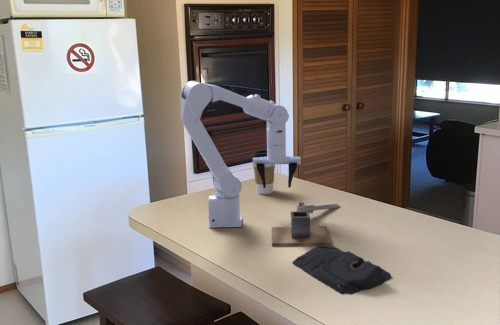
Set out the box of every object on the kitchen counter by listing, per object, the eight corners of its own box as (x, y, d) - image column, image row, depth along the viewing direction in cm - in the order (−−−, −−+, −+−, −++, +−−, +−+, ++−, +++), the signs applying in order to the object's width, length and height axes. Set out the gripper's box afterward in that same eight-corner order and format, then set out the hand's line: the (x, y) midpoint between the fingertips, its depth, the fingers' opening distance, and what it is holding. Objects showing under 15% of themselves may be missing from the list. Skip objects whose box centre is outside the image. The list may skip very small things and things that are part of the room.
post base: (271, 248, 142) (271, 231, 141) (271, 231, 154) (271, 215, 152) (331, 247, 141) (331, 230, 140) (326, 231, 153) (326, 214, 152)
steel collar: (291, 238, 145) (291, 217, 143) (290, 231, 149) (290, 211, 148) (310, 237, 144) (310, 217, 143) (308, 231, 149) (308, 211, 148)
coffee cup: (251, 195, 186) (250, 153, 182) (255, 188, 194) (253, 148, 190) (274, 195, 184) (274, 154, 181) (277, 188, 193) (277, 148, 189)
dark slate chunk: (334, 249, 139) (334, 233, 138) (397, 281, 121) (397, 262, 120) (287, 264, 132) (287, 246, 131) (347, 300, 114) (347, 280, 112)
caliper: (298, 223, 158) (298, 203, 157) (296, 222, 159) (296, 203, 158) (339, 206, 172) (339, 188, 171) (336, 206, 173) (337, 187, 171)
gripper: (252, 147, 156) (253, 191, 159) (301, 146, 155) (301, 190, 158) (252, 142, 162) (253, 184, 166) (299, 141, 162) (299, 183, 165)
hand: (277, 186), depth 163 cm, fingers open, 7 cm apart
